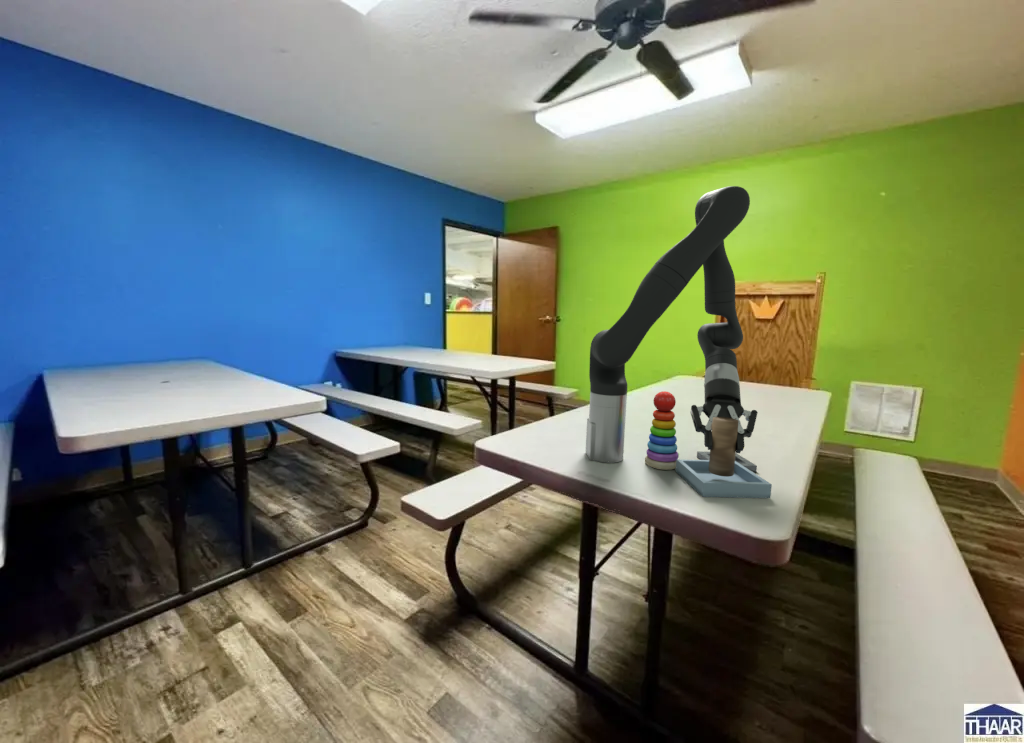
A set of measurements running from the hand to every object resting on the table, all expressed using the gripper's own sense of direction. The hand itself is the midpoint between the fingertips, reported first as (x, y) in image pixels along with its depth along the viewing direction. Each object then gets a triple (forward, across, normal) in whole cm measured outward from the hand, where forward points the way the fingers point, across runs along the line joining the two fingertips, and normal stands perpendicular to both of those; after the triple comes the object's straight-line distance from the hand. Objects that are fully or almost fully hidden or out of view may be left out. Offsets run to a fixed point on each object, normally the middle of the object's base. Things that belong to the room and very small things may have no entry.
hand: (724, 449), depth 88 cm
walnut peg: (+3, 0, +5) cm, 6 cm away
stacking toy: (0, -12, +12) cm, 18 cm away
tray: (+5, 0, +7) cm, 9 cm away
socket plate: (-6, +3, +18) cm, 19 cm away
